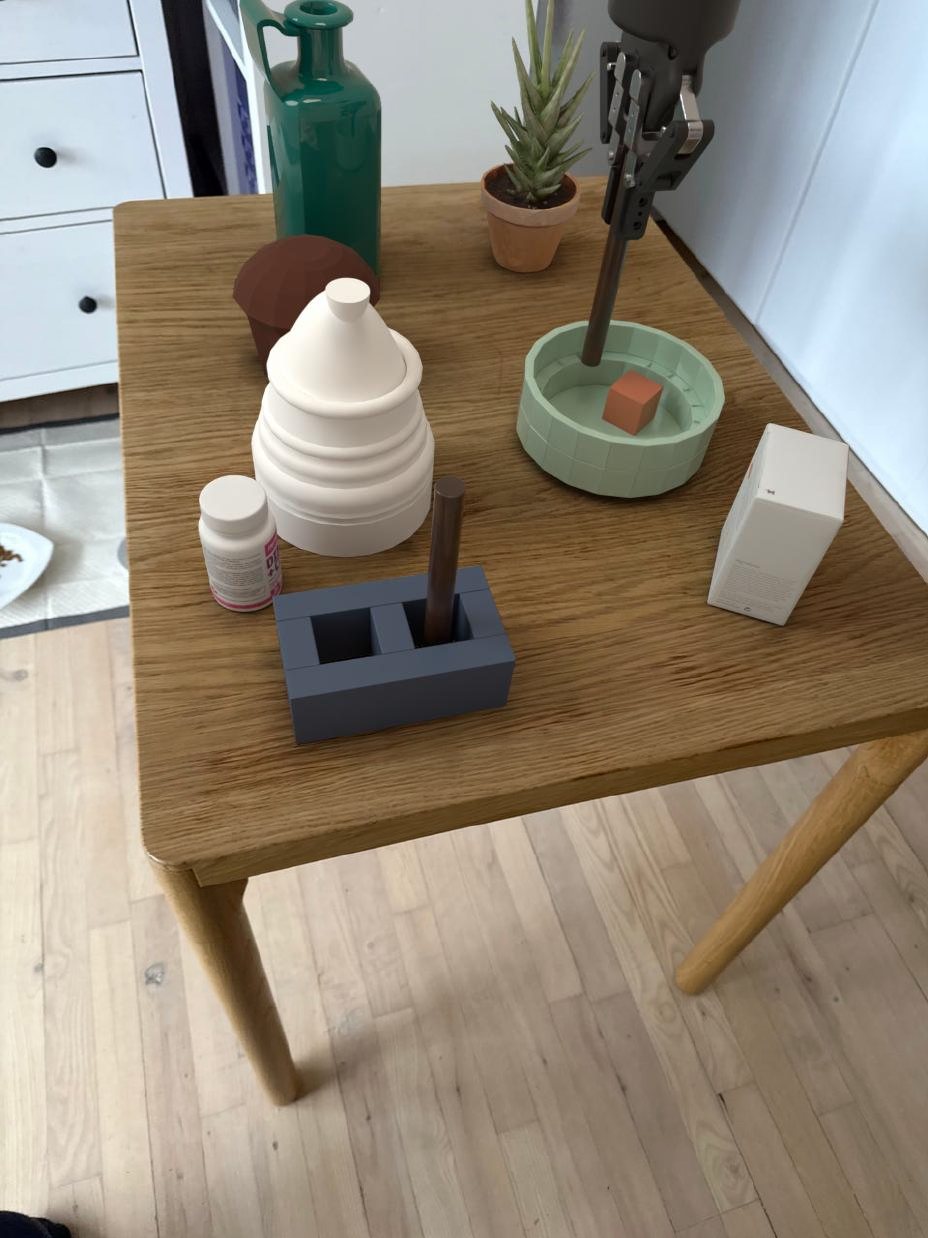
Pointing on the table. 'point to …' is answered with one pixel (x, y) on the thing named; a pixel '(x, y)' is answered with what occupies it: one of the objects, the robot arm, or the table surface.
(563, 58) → the potted plant
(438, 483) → the brown wooden peg
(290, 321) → the muffin
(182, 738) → the table surface
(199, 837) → the table surface
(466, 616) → the stand
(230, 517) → the pill bottle
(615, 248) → the brown rod
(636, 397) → the block
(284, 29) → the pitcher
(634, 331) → the bowl
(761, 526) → the small box
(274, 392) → the honey pot
